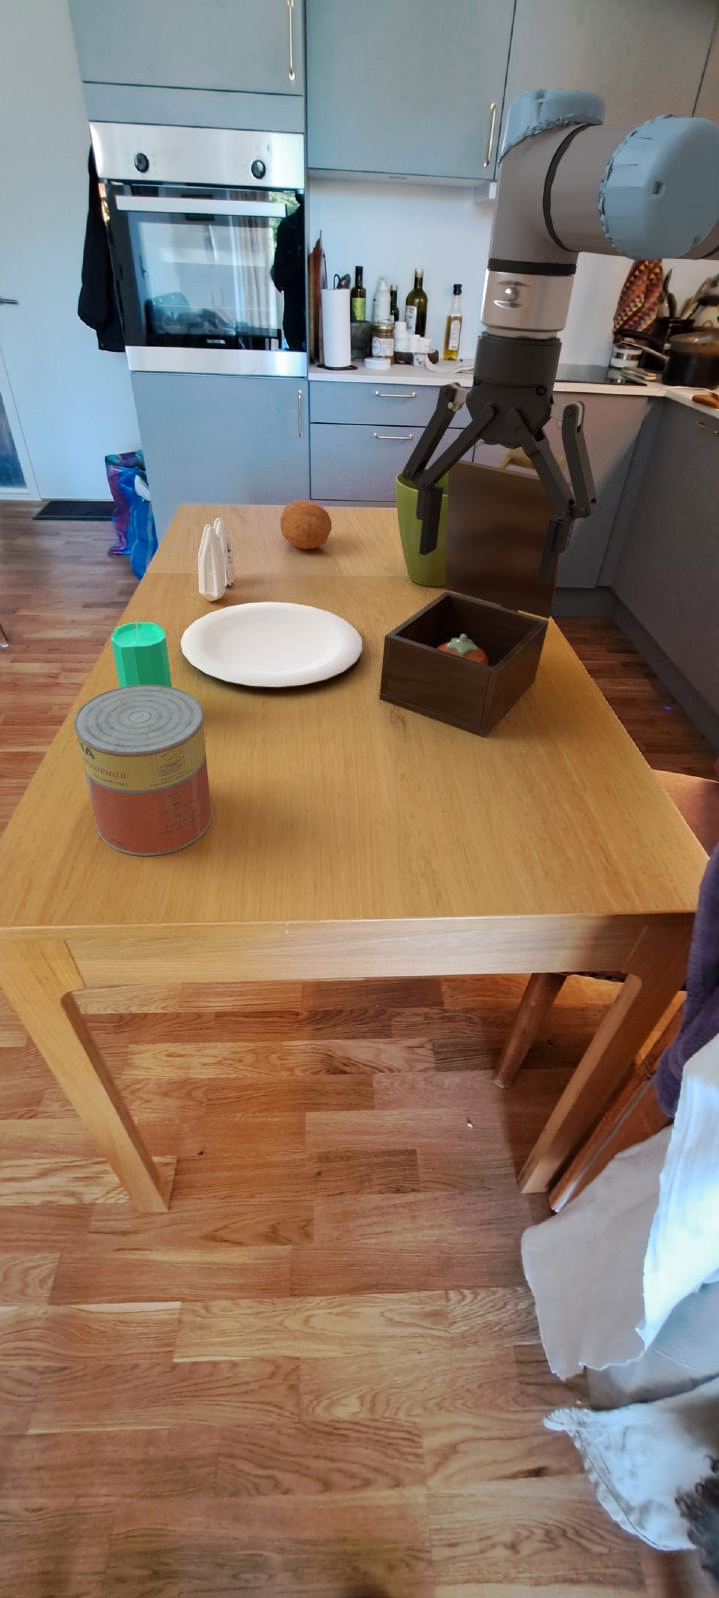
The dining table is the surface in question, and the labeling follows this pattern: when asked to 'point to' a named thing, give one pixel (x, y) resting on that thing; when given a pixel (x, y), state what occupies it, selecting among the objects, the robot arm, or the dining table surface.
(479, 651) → the tomato
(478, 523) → the lid
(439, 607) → the dark wooden box
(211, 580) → the shaker set
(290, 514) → the brown coconut
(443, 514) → the flower pot
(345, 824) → the dining table surface
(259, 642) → the plate
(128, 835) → the canned food
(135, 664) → the candle
